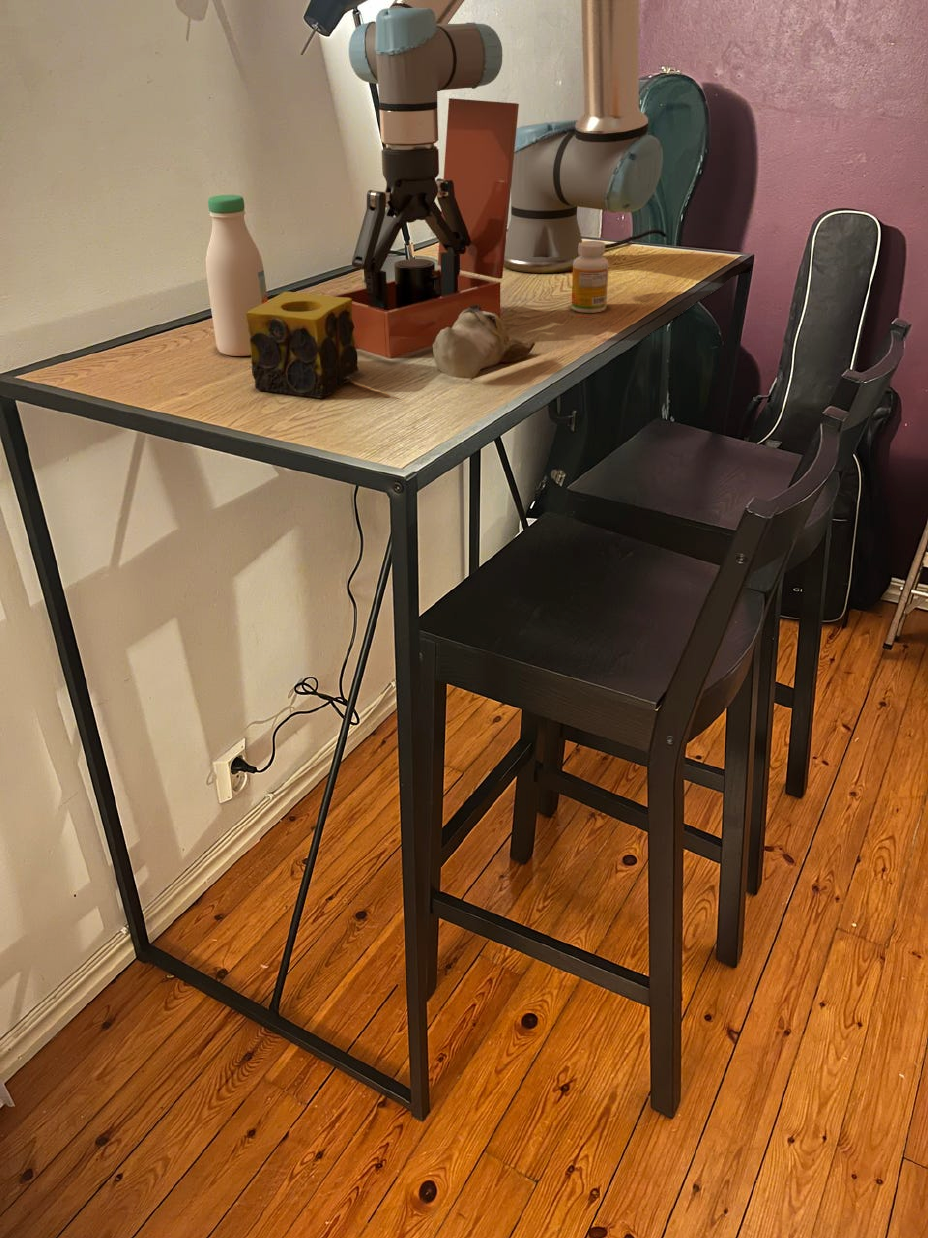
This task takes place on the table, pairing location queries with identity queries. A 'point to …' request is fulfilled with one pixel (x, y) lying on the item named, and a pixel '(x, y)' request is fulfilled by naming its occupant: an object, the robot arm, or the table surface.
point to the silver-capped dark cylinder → (415, 281)
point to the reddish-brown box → (416, 316)
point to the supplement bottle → (590, 278)
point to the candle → (302, 344)
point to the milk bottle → (232, 274)
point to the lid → (481, 178)
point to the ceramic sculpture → (475, 344)
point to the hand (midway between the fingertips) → (415, 309)
